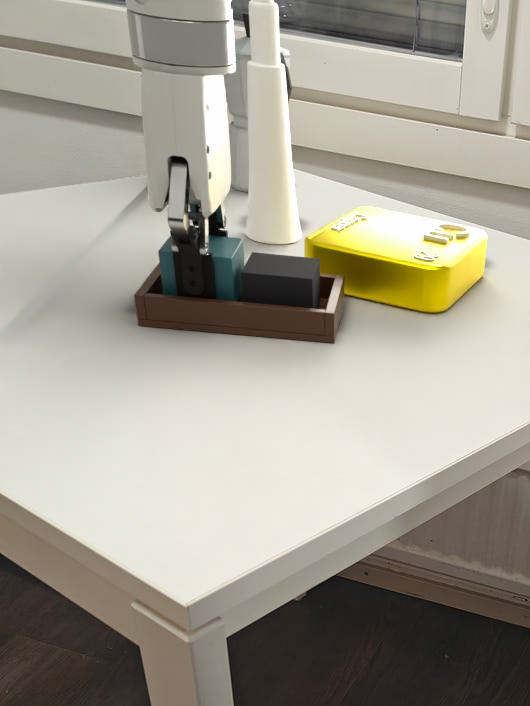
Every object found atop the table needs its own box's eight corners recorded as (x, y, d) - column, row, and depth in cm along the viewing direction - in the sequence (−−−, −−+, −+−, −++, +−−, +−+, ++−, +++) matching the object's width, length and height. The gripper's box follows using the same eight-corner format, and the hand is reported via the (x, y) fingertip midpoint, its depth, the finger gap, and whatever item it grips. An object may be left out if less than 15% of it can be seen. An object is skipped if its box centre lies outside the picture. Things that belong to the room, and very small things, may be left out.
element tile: (360, 245, 98) (360, 198, 95) (488, 272, 95) (493, 225, 92) (297, 285, 87) (295, 233, 84) (441, 317, 84) (445, 265, 81)
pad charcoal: (244, 319, 78) (240, 272, 75) (254, 296, 82) (251, 251, 79) (313, 325, 78) (312, 279, 75) (320, 303, 82) (319, 258, 80)
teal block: (163, 299, 76) (157, 250, 74) (178, 277, 80) (173, 231, 78) (234, 306, 77) (231, 258, 74) (245, 284, 81) (243, 238, 78)
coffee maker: (208, 172, 114) (193, 1, 102) (272, 170, 118) (265, 5, 106) (255, 206, 105) (245, 23, 93) (323, 202, 109) (321, 26, 98)
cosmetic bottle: (244, 243, 95) (227, -11, 80) (246, 225, 99) (231, -18, 85) (302, 246, 96) (295, -4, 81) (301, 229, 100) (295, -11, 86)
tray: (138, 325, 76) (133, 295, 74) (165, 287, 83) (162, 258, 81) (334, 343, 77) (334, 313, 75) (344, 303, 84) (344, 275, 83)
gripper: (160, 23, 73) (183, 252, 85) (97, 53, 60) (135, 319, 71) (253, 35, 74) (263, 260, 85) (210, 67, 61) (230, 328, 72)
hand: (204, 285), depth 78 cm, fingers closed on teal block, 5 cm apart
